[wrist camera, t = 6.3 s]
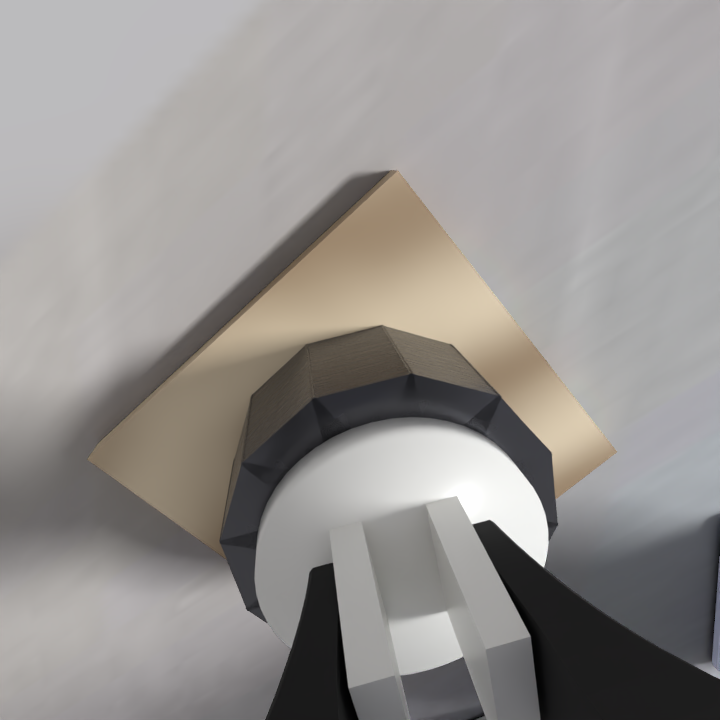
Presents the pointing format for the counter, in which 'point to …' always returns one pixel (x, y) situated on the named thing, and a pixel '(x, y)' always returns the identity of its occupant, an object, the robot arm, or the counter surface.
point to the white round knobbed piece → (407, 559)
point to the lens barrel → (361, 421)
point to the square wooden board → (327, 320)
